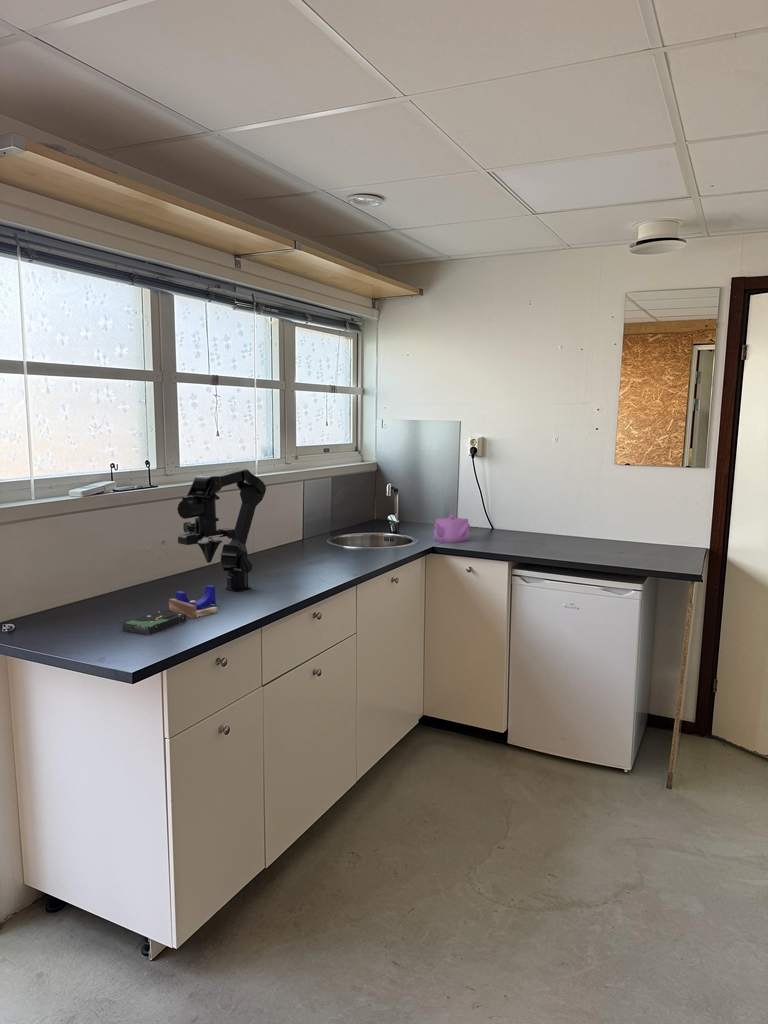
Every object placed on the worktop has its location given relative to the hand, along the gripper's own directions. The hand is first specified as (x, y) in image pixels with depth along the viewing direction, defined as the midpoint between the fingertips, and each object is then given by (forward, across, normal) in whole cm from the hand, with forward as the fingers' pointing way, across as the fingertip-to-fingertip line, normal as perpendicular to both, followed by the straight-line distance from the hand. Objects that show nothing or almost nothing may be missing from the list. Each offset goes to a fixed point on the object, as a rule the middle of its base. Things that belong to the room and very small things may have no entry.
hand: (208, 562), depth 226 cm
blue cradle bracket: (+12, +9, +7) cm, 17 cm away
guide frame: (+12, +12, +10) cm, 19 cm away
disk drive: (+13, +28, +14) cm, 34 cm away
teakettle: (+12, -140, -7) cm, 141 cm away
